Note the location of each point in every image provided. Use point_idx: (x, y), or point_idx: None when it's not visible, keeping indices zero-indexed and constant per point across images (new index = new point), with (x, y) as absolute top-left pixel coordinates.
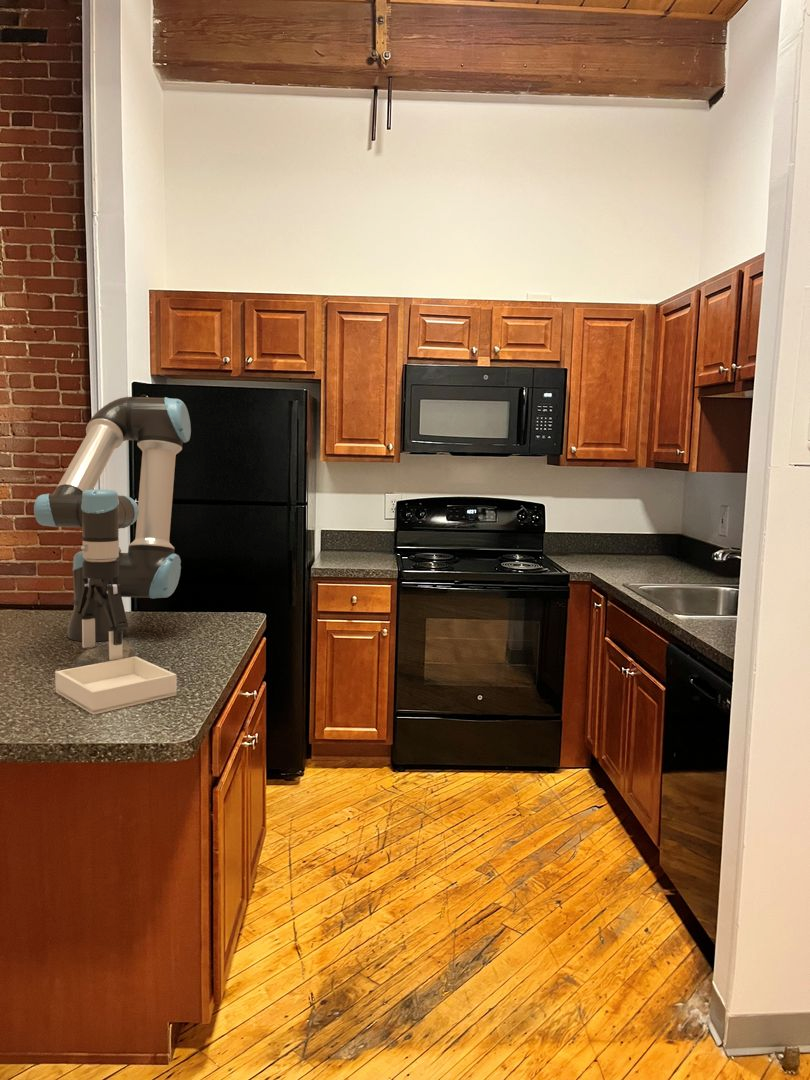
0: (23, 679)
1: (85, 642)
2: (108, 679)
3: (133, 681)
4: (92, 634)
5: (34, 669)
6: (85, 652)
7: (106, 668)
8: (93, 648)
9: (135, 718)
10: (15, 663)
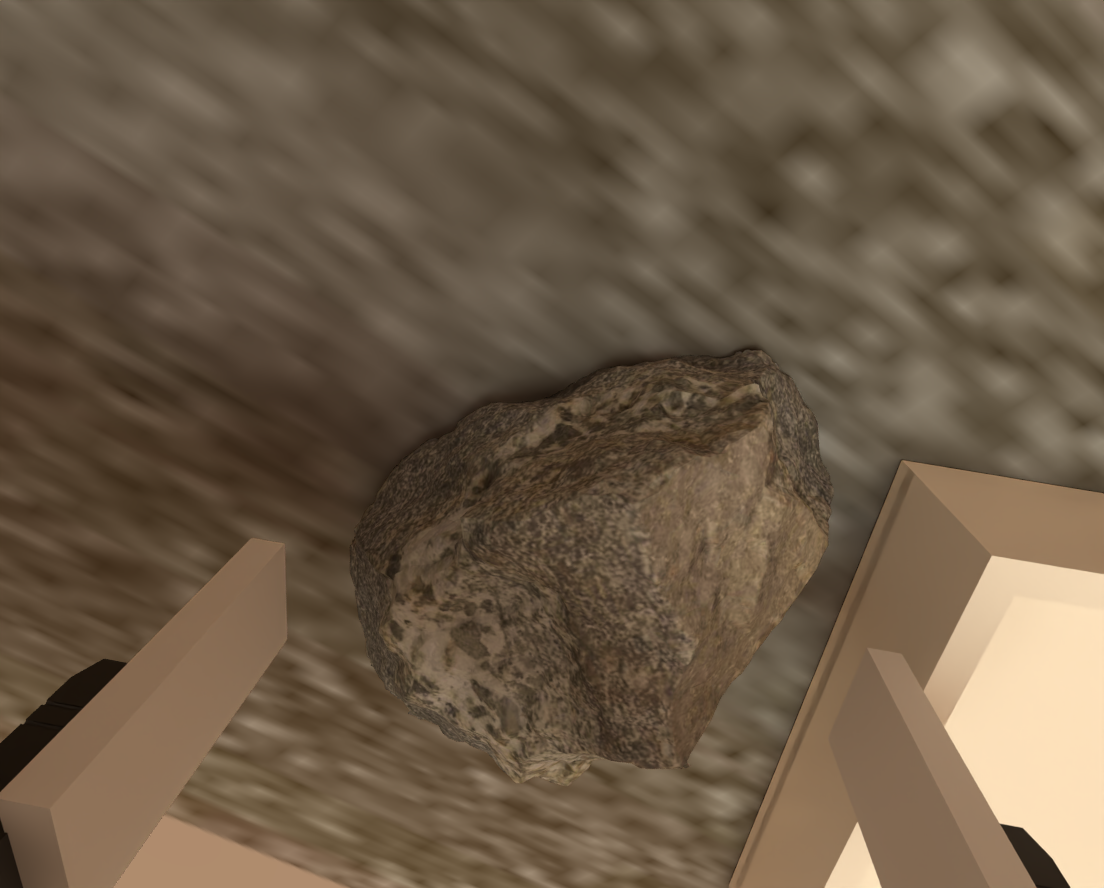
0: (385, 852)
1: (262, 664)
2: None
3: (1085, 628)
4: (210, 653)
5: (229, 743)
6: (521, 771)
7: None
8: (444, 669)
9: None
10: None
